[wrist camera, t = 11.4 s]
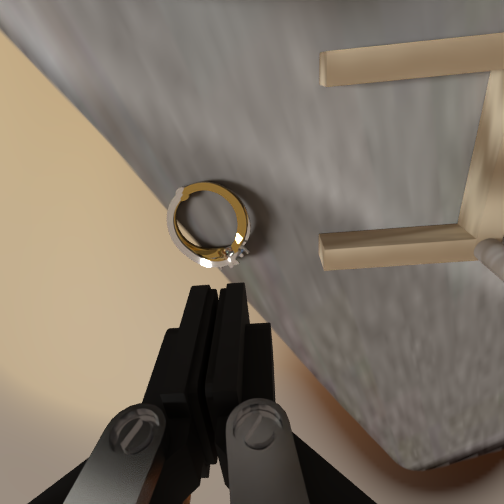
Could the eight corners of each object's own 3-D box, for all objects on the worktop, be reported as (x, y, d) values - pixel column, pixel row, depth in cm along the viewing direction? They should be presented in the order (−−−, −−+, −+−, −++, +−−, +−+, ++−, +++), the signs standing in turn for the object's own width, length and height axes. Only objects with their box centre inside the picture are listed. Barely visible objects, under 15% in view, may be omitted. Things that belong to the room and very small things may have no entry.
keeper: (319, 52, 24) (345, 47, 16) (529, 30, 23) (651, 14, 16) (318, 271, 32) (335, 329, 25) (471, 261, 31) (532, 317, 24)
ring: (155, 208, 30) (211, 275, 32) (142, 217, 27) (204, 290, 29) (215, 160, 28) (271, 234, 30) (207, 164, 25) (270, 245, 27)
